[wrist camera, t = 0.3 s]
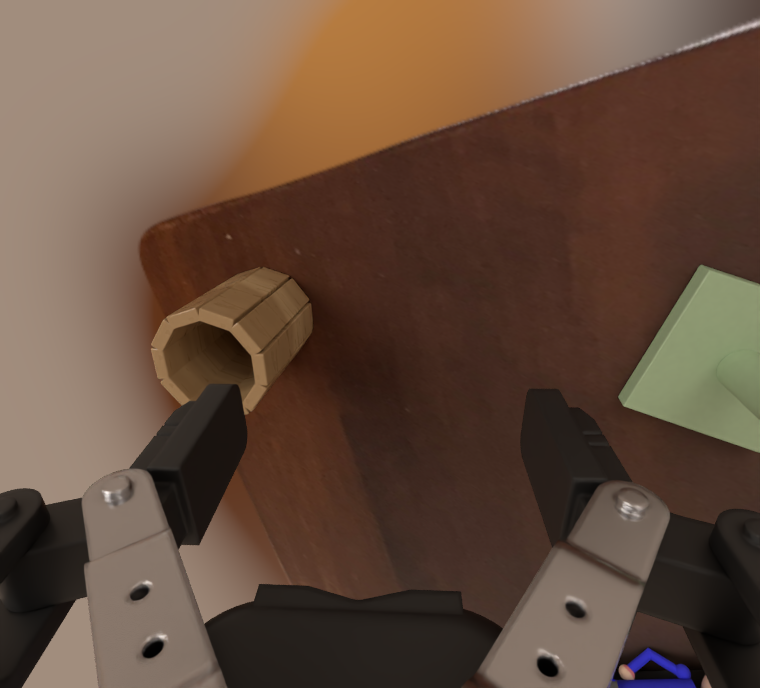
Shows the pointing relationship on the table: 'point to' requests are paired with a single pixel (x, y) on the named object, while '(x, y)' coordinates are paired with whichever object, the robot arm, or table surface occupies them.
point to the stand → (705, 361)
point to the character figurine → (658, 674)
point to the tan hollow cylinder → (234, 337)
